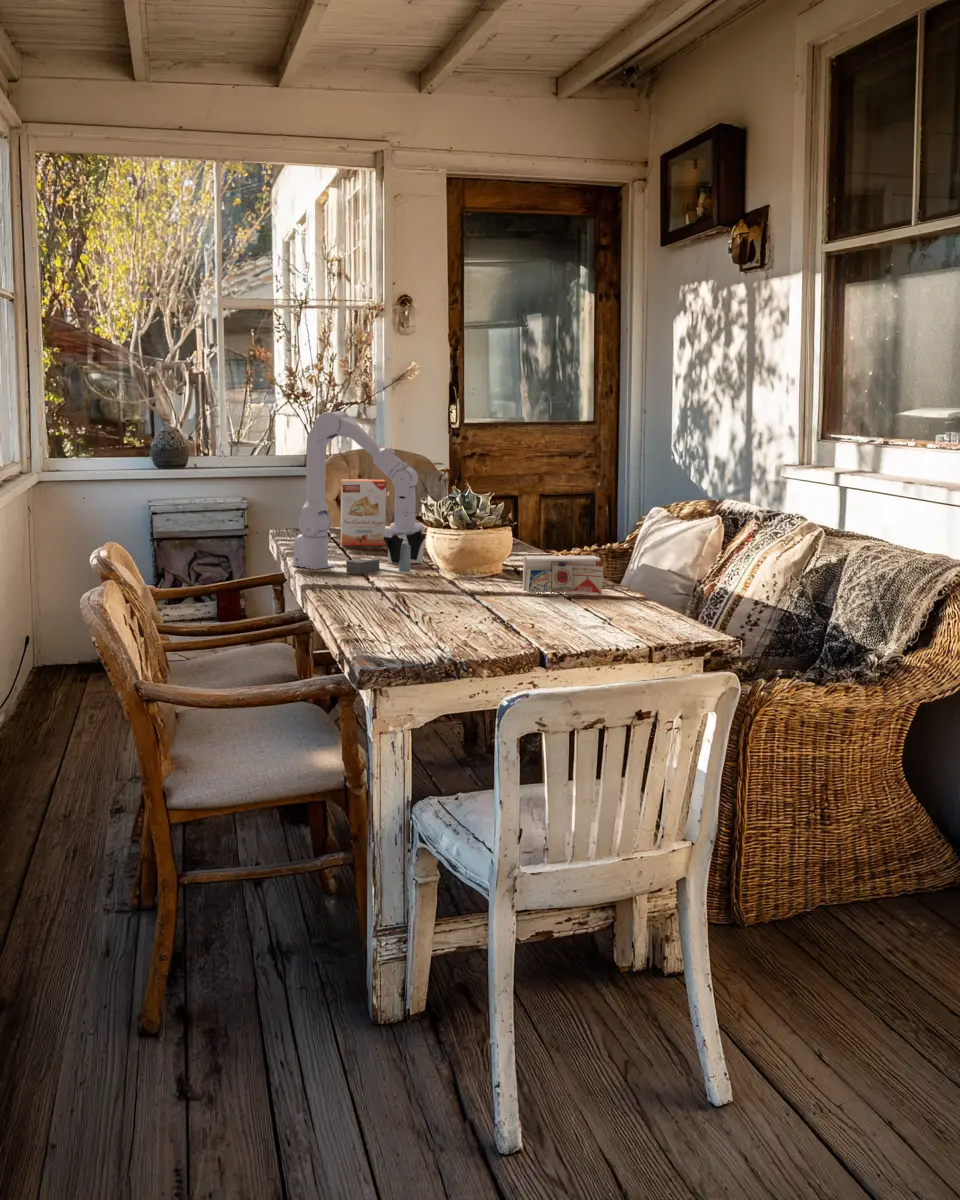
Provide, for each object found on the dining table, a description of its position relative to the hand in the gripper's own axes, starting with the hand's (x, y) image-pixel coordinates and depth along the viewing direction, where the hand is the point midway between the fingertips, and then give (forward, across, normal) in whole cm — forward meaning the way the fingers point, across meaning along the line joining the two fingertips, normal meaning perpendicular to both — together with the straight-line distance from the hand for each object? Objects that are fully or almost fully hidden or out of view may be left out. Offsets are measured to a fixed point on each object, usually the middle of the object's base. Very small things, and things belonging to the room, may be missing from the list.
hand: (404, 561), depth 324 cm
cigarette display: (+4, +5, -49) cm, 49 cm away
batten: (+3, 0, +4) cm, 6 cm away
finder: (+4, -7, +9) cm, 12 cm away
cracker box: (+3, +32, +44) cm, 55 cm away
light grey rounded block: (+4, +13, +10) cm, 17 cm away
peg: (+3, 0, 0) cm, 3 cm away
